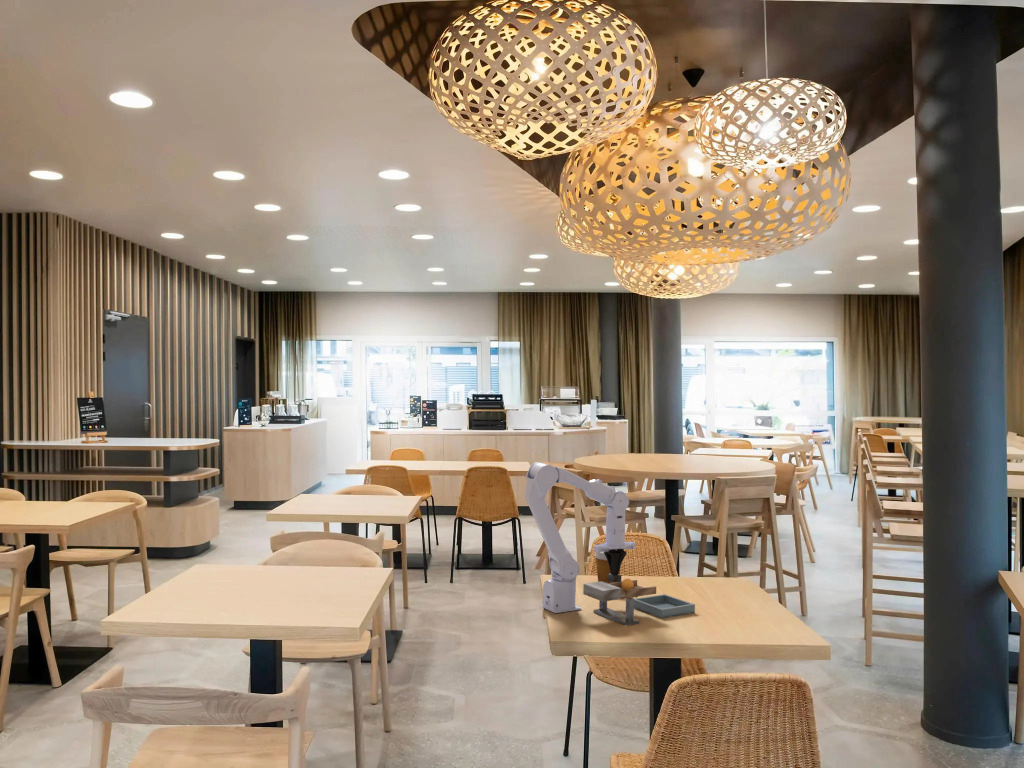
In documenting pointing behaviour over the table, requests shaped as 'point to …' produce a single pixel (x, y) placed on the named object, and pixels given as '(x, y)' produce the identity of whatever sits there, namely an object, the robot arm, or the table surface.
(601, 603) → the chute stand
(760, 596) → the table surface
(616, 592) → the chute
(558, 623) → the table surface
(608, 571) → the disposable coffee cup
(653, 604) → the tray
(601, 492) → the robot arm
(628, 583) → the ball
